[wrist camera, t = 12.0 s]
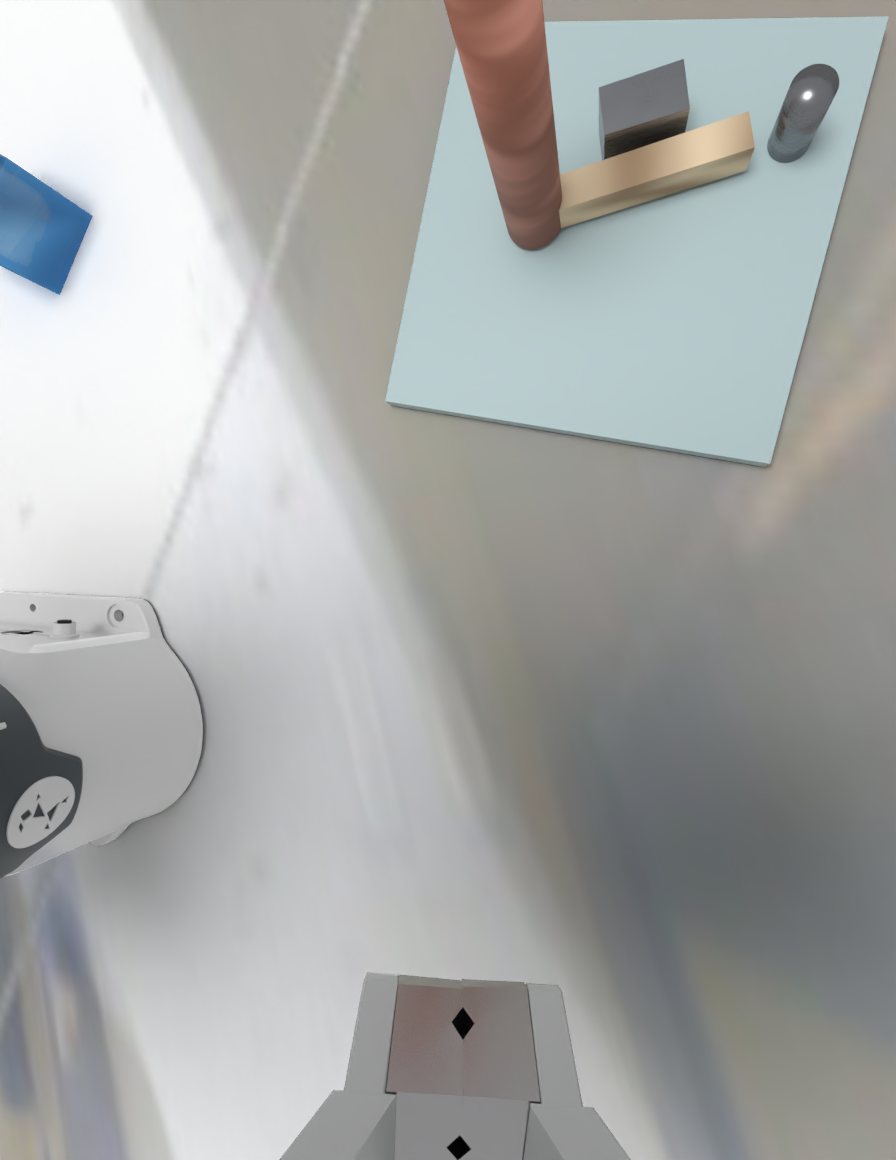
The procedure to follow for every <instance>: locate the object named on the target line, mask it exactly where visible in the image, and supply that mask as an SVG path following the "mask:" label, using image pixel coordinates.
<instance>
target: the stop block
mask: <svg viewBox="0 0 896 1160" xmlns="http://www.w3.org/2000/svg"><path fill="white" fill-rule="evenodd" d="M689 110H690V104H689V96H688V88H687V80H686V72H685V64H684V59H681V60H678V61H675V62H673V63H670V64H667V65H664V66H661V67H658V68H655V69H652V70H649V71H646V72H643V73H640V74H637V75H634V76H631V77H628V78H625V79H622V80H619V81H616V82H613V83H610V84H607V85H605V86H602V87H599V138H600V146H601V154H602V160H605V159H608V158H611V157H614V156H617V155H620V154H623V153H626V152H629V151H632V150H635V149H638V148H641V147H644V146H646V145H649V144H652V143H655V142H658V141H661V140H664V139H667V138H670V137H673V136H676V135H679V134H682V133H685V130H686V125H687V120H688V115H689Z"/></svg>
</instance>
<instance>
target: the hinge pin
mask: <svg viewBox="0 0 896 1160" xmlns="http://www.w3.org/2000/svg"><path fill="white" fill-rule="evenodd" d="M838 88H839V76H838V73H837V72H836V70H835V69H834V68H832V67H831V66H829V65H826V64H813V65H810V66H808V67H806V68H804V69H802V70H801V71H800V72H799V73H798V74H797V75H796V76H795V77H794V79H793V80H792V82H791V85H790V87H789V89H788V92H787V94H786V97H785V99H784V102H783V104H782V107H781V109H780V112H779V114H778V117H777V119H776V122H775V124H774V127H773V129H772V132H771V134H770V137H769V139H768V143H767V150H768V153H769V155H770V157H771V158H772V159H773V160H775V161H777V162H780V163H789V162H793V161H795V160H797V159H799V158H800V157H802V156H803V155H804V154H805V153H806V151H807V150H808V148H809V146H810V144H811V142H812V140H813V138H814V136H815V134H816V132H817V130H818V129H819V127H820V125H821V123H822V121H823V119H824V117H825V115H826V113H827V111H828V109H829V107H830V105H831V103H832V101H833V99H834V97H835V95H836V93H837V91H838Z"/></svg>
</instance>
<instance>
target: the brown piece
mask: <svg viewBox="0 0 896 1160" xmlns="http://www.w3.org/2000/svg"><path fill="white" fill-rule="evenodd" d="M444 3H445V7H446V10H447V14H448V17H449V21H450V25H451V28H452V32H453V35H454V39H455V43H456V46H457V50H458V53H459V57H460V61H461V64H462V68H463V71H464V75H465V79H466V82H467V86H468V89H469V93H470V97H471V100H472V104H473V107H474V111H475V115H476V118H477V122H478V125H479V129H480V133H481V136H482V140H483V144H484V147H485V151H486V154H487V158H488V162H489V165H490V169H491V172H492V176H493V180H494V183H495V187H496V190H497V194H498V198H499V201H500V205H501V208H502V212H503V216H504V219H505V223H506V226H507V230H508V233H509V236H510V238H511V239H512V241H513V242H514V243H515V244H517V245H518V246H520V247H522V248H525V249H537V248H540V247H543V246H545V245H547V244H548V243H550V242H551V241H552V240H553V239H554V238H555V237H556V236H557V235H558V233H559V231H560V230H561V228H564V227H567V226H570V225H573V224H577V223H580V222H583V221H586V220H589V219H593V218H596V217H599V216H602V215H605V214H609V213H612V212H615V211H618V210H621V209H625V208H628V207H631V206H634V205H638V204H641V203H644V202H647V201H650V200H654V199H657V198H660V197H663V196H666V195H670V194H673V193H676V192H679V191H682V190H686V189H689V188H692V187H695V186H698V185H702V184H705V183H708V182H711V181H715V180H718V179H721V178H724V177H727V176H731V175H734V174H737V173H740V172H743V171H746V170H747V167H748V164H749V162H750V159H751V156H752V154H753V151H754V148H755V145H754V139H753V133H752V126H751V120H750V114H749V111H748V112H745V113H742V114H739V115H736V116H733V117H730V118H727V119H724V120H721V121H718V122H715V123H712V124H709V125H706V126H703V127H700V128H697V129H694V130H691V131H688V132H685V133H682V134H679V135H676V136H673V137H670V138H667V139H664V140H661V141H658V142H655V143H652V144H649V145H646V146H644V147H641V148H638V149H635V150H632V151H629V152H626V153H623V154H620V155H617V156H614V157H611V158H608V159H605V160H602V161H599V162H596V163H593V164H590V165H587V166H584V167H581V168H578V169H575V170H572V171H569V172H566V173H563V174H560V170H559V161H558V151H557V141H556V131H555V121H554V112H553V102H552V92H551V82H550V72H549V63H548V53H547V43H546V33H545V23H544V13H543V4H542V0H444Z"/></svg>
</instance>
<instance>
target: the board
mask: <svg viewBox="0 0 896 1160" xmlns="http://www.w3.org/2000/svg"><path fill="white" fill-rule="evenodd" d="M887 20H888V17H828V18H763V19H699V20H635V21H570V22H544V23H545V33H546V43H547V53H548V63H549V72H550V82H551V92H552V102H553V112H554V121H555V131H556V141H557V151H558V161H559V170H560V174H563V173H566V172H569V171H572V170H575V169H578V168H581V167H584V166H587V165H590V164H593V163H596V162H599V161H602V154H601V146H600V138H599V87H602V86H605V85H607V84H610V83H613V82H616V81H619V80H622V79H625V78H628V77H631V76H634V75H637V74H640V73H643V72H646V71H649V70H652V69H655V68H658V67H661V66H664V65H667V64H670V63H673V62H675V61H678V60H681V59H684V64H685V72H686V80H687V88H688V96H689V104H690V110H689V115H688V120H687V125H686V130H685V132H688V131H691V130H694V129H697V128H700V127H703V126H706V125H709V124H712V123H715V122H718V121H721V120H724V119H727V118H730V117H733V116H736V115H739V114H742V113H745V112H748V111H749V114H750V120H751V126H752V133H753V139H754V145H755V148H754V151H753V154H752V156H751V159H750V162H749V164H748V167H747V170H746V171H743V172H740V173H737V174H734V175H731V176H727V177H724V178H721V179H718V180H715V181H711V182H708V183H705V184H702V185H698V186H695V187H692V188H689V189H686V190H682V191H679V192H676V193H673V194H670V195H666V196H663V197H660V198H657V199H654V200H650V201H647V202H644V203H641V204H638V205H634V206H631V207H628V208H625V209H621V210H618V211H615V212H612V213H609V214H605V215H602V216H599V217H596V218H593V219H589V220H586V221H583V222H580V223H577V224H573V225H570V226H567V227H564V228H561V230H560V231H559V233H558V235H557V236H556V237H555V238H554V239H553V240H552V241H551V242H550V243H548V244H547V245H545V246H543V247H540V248H537V249H525V248H522V247H520V246H518V245H517V244H515V243H514V242H513V241H512V239H511V238H510V236H509V233H508V230H507V226H506V223H505V219H504V216H503V212H502V208H501V205H500V201H499V198H498V194H497V190H496V187H495V183H494V180H493V176H492V172H491V169H490V165H489V162H488V158H487V154H486V151H485V147H484V144H483V140H482V136H481V133H480V129H479V125H478V122H477V118H476V115H475V111H474V107H473V104H472V100H471V97H470V93H469V89H468V86H467V82H466V79H465V75H464V71H463V68H462V64H461V61H460V57H459V53H458V50H457V46H456V50H455V55H454V60H453V65H452V70H451V75H450V80H449V85H448V90H447V95H446V100H445V105H444V110H443V115H442V120H441V125H440V130H439V135H438V140H437V145H436V150H435V155H434V160H433V165H432V170H431V175H430V180H429V185H428V190H427V195H426V200H425V205H424V210H423V215H422V220H421V225H420V230H419V235H418V240H417V245H416V250H415V255H414V260H413V265H412V270H411V275H410V280H409V285H408V290H407V295H406V300H405V305H404V310H403V315H402V320H401V325H400V330H399V335H398V340H397V345H396V350H395V355H394V360H393V365H392V370H391V375H390V380H389V385H388V390H387V395H386V400H385V401H386V402H387V403H388V404H390V405H392V406H398V407H404V408H410V409H416V410H422V411H428V412H434V413H440V414H446V415H452V416H458V417H465V418H471V419H477V420H483V421H489V422H495V423H501V424H507V425H513V426H519V427H525V428H531V429H537V430H544V431H550V432H556V433H562V434H568V435H574V436H580V437H586V438H592V439H598V440H604V441H610V442H616V443H623V444H629V445H635V446H641V447H647V448H653V449H659V450H665V451H671V452H677V453H683V454H689V455H695V456H701V457H708V458H714V459H720V460H726V461H732V462H738V463H744V464H750V465H756V466H762V467H766V466H767V465H769V464H770V463H771V459H772V455H773V452H774V448H775V444H776V440H777V436H778V433H779V429H780V425H781V421H782V418H783V414H784V410H785V406H786V402H787V399H788V395H789V391H790V387H791V384H792V380H793V376H794V372H795V368H796V365H797V361H798V357H799V353H800V349H801V346H802V342H803V338H804V334H805V331H806V327H807V323H808V319H809V315H810V312H811V308H812V304H813V300H814V297H815V293H816V289H817V285H818V281H819V278H820V274H821V270H822V266H823V262H824V259H825V255H826V251H827V247H828V244H829V240H830V236H831V232H832V228H833V225H834V221H835V217H836V213H837V210H838V206H839V202H840V198H841V194H842V191H843V187H844V183H845V179H846V176H847V172H848V168H849V164H850V160H851V157H852V153H853V149H854V145H855V141H856V138H857V134H858V130H859V126H860V123H861V119H862V115H863V111H864V107H865V104H866V100H867V96H868V92H869V89H870V85H871V81H872V77H873V73H874V70H875V66H876V62H877V58H878V55H879V51H880V47H881V43H882V39H883V36H884V32H885V28H886V24H887ZM813 64H826V65H829V66H831V67H832V68H834V69H835V70H836V72H837V73H838V76H839V88H838V91H837V93H836V95H835V97H834V99H833V101H832V103H831V105H830V107H829V109H828V111H827V113H826V115H825V117H824V119H823V121H822V123H821V125H820V127H819V129H818V130H817V132H816V134H815V136H814V138H813V140H812V142H811V144H810V146H809V148H808V150H807V151H806V153H805V154H804V155H803V156H802V157H800V158H799V159H797V160H795V161H793V162H789V163H780V162H777V161H775V160H773V159H772V158H771V157H770V155H769V153H768V150H767V143H768V139H769V137H770V134H771V132H772V129H773V127H774V124H775V122H776V119H777V117H778V114H779V112H780V109H781V107H782V104H783V102H784V99H785V97H786V94H787V92H788V89H789V87H790V85H791V82H792V80H793V79H794V77H795V76H796V75H797V74H798V73H799V72H800V71H801V70H802V69H804V68H806V67H808V66H810V65H813Z"/></svg>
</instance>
